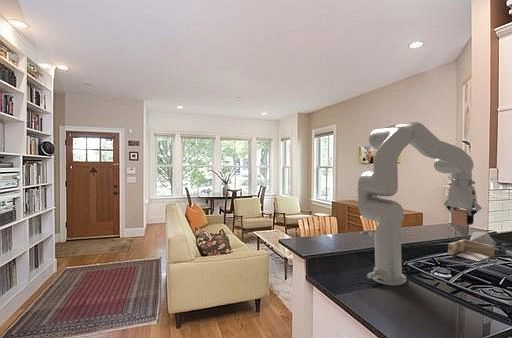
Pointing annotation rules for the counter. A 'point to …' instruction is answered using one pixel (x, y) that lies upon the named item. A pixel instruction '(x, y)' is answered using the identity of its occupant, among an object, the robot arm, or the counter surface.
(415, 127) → the robot arm
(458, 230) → the counter surface
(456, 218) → the cube
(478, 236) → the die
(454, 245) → the tan box
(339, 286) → the counter surface
